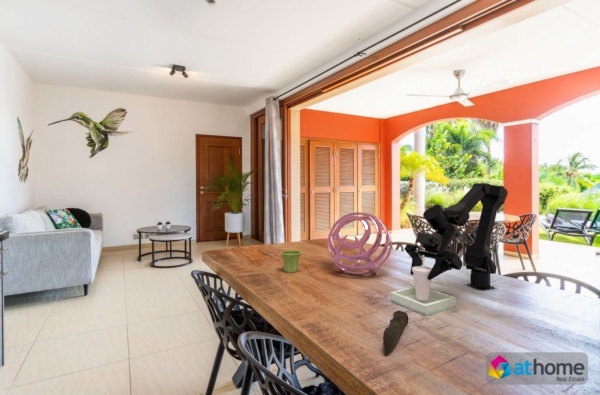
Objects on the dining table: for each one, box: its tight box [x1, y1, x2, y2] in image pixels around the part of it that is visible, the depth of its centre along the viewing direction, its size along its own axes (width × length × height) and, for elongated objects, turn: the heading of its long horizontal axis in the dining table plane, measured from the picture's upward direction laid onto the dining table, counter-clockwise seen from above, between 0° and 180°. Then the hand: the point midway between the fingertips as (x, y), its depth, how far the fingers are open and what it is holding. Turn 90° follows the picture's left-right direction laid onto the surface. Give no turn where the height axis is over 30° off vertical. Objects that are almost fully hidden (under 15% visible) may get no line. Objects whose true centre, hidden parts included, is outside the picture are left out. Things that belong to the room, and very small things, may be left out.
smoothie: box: [412, 255, 433, 300], centre depth 101 cm, size 6×6×14 cm
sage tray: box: [389, 285, 457, 317], centre depth 102 cm, size 14×14×3 cm
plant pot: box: [280, 249, 302, 274], centre depth 143 cm, size 9×9×9 cm
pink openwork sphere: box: [327, 211, 393, 276], centre depth 140 cm, size 28×28×27 cm
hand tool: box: [382, 310, 409, 356], centre depth 79 cm, size 19×4×5 cm, turn 149°
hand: (419, 276), depth 101 cm, fingers closed on smoothie, 6 cm apart
